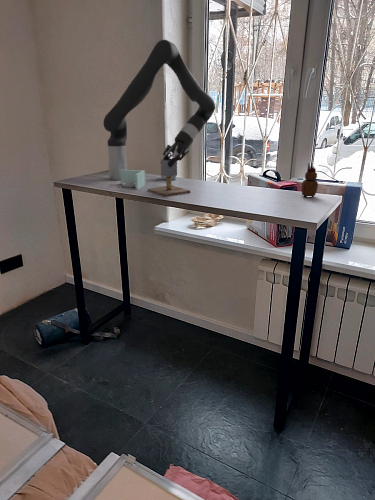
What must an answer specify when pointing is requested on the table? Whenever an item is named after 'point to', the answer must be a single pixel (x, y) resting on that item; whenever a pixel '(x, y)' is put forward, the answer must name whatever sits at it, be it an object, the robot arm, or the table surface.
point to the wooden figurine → (310, 182)
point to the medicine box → (171, 177)
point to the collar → (168, 168)
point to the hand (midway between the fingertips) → (165, 165)
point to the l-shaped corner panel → (133, 178)
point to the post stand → (168, 189)
